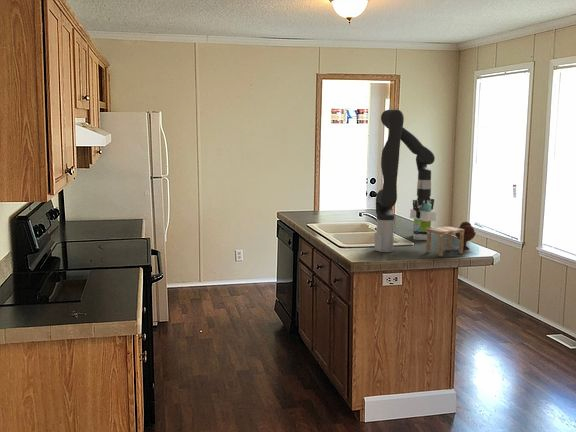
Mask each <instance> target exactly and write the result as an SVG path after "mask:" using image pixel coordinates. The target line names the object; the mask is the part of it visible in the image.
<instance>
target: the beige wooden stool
mask: <svg viewBox="0 0 576 432" xmlns="http://www.w3.org/2000/svg"><path fill="white" fill-rule="evenodd" d="M432 233H433V234H438V235H439V242H438V243H439V244H438V257H443V256H444V237H445V235H446V246H445V249H446V251H451V247H452V246H451V243H452V234H455V233H460V240H459V241H458V242H459V243H458V244H459V245H458V254H460V255H462V254H464V250H463V244H464V229H460V228H459V227H456V226H455V227H453V226H450V225H449V226H440V227H431V228H428V229H427V240H426V252H425V253H427V254H430V253H431V245H432V243H431V242H432Z"/></svg>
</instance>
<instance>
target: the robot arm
mask: <svg viewBox="0 0 576 432" xmlns="http://www.w3.org/2000/svg"><path fill="white" fill-rule="evenodd" d="M404 117H405V116H404V114H403V111H402V110H400V109H387V110H384V111H383V112H382V113H381V115H380V121H381V123H382V125H383V126H384V127H386V128H387V129H388V137H387V140H386V142H385V144H384V146H383V149H382V151H381V158H380V168H381V173H382V181H383V186H382V189H380V190H379V191H378V192H377V193H376V195H375V196H376V197H375V214H376V232H375V233H374V249H373V250H374V251H376V252H378V253H379V252H380V253H391V252H393V251H394V235H395V213H394V211H393V207H394V206H395V205H396V203H397V201H398V189H397V188H398V183H397V182H398V173H399V163H400V162H399V161H400V150H401V149H400V147H401V143H402V142H403V144H404V145H405V146H406V148H407V149H408V150H409V151H410V152H411V153H412V154H413V155H416V157H415V163H416V167H417V168H416V169H417V172H418V173H417V182H416V183H417V185H416V196H417V198H416V199H412V209H413V210H415V211H416V218H418V219H419V218H420V210H421V208H422V207H423V205H424V203H426V204H431V211H434V210H433V209H434V206H435V199H433V198H431V196H432V171H431V169H430V168H428V166H429V165H433V164H434V162H435V160H436V159H435V154H434V153H433V151H432V150H431V149H429V148H428V147H427V146H425V145H424V144H423V143H422V142H421V141H420V140H419V138H418V137H417V136H416V135H415V134H413V133H412V132H411V131H410V130H408V129H407V128H405V127H404V120H405V119H404ZM417 203H418V204H417ZM419 205H420V206H419Z"/></svg>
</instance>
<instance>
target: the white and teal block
mask: <svg viewBox="0 0 576 432" xmlns="http://www.w3.org/2000/svg"><path fill="white" fill-rule="evenodd" d="M417 204H418V203H417ZM419 206H420V205H419ZM409 211H410V215H409V218H410V219H413V220H414V219H418V218H416V211H415V210H413V208H410V210H409ZM436 218H437V211H436V210H431V204H426V203H424V205H423V207H422V208H421V210H420V218H419V219H418V220H423V221H431V222H433V221H434V222H435V221H436Z"/></svg>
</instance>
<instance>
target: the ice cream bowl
mask: <svg viewBox="0 0 576 432" xmlns="http://www.w3.org/2000/svg"><path fill="white" fill-rule="evenodd" d="M458 228H460V229H464V244H463V251H464V250H465V251H466V250H468V251H469V250H470V247H468V246H467V242H470V241H471V240H473V239H474V238H475V236H476V232H475V229H474V227H473V226H472V224H471V223H470V222H468V221H462V222H461V223H460V225H459V226H458ZM454 235H455V236H456V238H457V240H459V241H460V233H454Z"/></svg>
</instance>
